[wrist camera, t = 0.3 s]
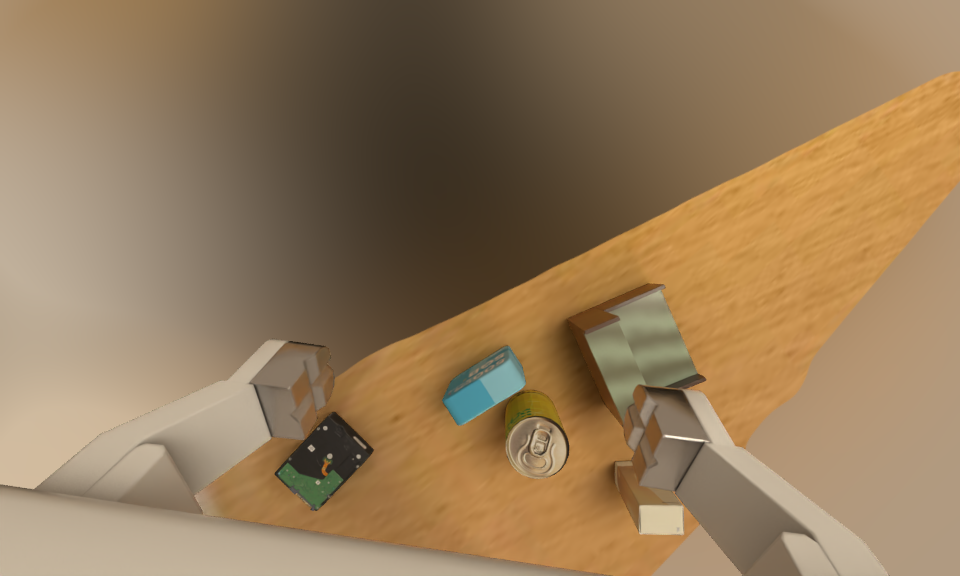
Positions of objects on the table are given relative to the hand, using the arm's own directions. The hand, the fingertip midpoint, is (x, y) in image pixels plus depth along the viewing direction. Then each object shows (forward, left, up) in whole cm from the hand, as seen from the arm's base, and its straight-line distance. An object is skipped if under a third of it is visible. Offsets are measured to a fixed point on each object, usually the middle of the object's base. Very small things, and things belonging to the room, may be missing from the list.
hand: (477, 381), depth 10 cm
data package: (-12, +8, -54) cm, 55 cm away
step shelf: (-17, -16, -53) cm, 58 cm away
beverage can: (-22, +4, -54) cm, 58 cm away
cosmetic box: (-38, -8, -54) cm, 66 cm away
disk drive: (-15, +41, -54) cm, 69 cm away
